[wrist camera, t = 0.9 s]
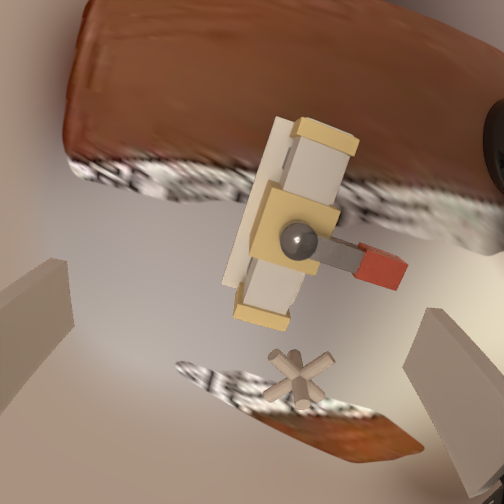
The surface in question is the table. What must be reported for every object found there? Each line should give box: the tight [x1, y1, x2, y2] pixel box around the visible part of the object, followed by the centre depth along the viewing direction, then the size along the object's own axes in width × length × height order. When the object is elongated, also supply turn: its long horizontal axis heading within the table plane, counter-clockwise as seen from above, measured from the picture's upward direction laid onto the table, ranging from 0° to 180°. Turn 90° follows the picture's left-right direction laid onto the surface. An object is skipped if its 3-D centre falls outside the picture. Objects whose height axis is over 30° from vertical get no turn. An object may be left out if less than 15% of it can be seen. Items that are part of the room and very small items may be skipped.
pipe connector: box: [263, 349, 335, 410], centre depth 38 cm, size 10×10×10 cm
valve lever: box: [279, 219, 408, 291], centre depth 26 cm, size 12×3×2 cm, turn 72°
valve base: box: [222, 116, 360, 332], centre depth 32 cm, size 9×20×10 cm, turn 162°
